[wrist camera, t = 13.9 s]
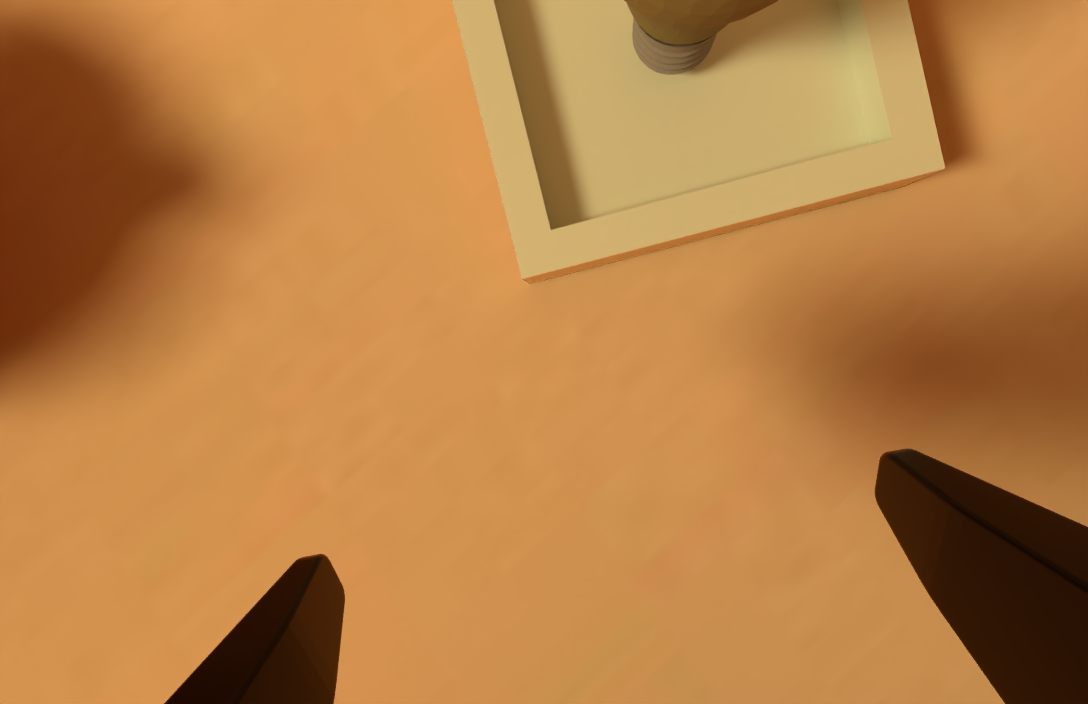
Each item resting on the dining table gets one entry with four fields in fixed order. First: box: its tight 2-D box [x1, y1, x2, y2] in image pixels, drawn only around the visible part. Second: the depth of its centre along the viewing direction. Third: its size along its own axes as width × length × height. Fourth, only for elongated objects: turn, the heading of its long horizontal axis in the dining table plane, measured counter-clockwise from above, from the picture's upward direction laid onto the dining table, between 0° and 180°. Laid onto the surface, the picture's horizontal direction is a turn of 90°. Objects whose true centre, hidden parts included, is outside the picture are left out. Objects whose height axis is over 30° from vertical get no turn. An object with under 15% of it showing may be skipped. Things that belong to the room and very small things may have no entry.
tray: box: [452, 0, 945, 284], centre depth 17 cm, size 12×12×2 cm
